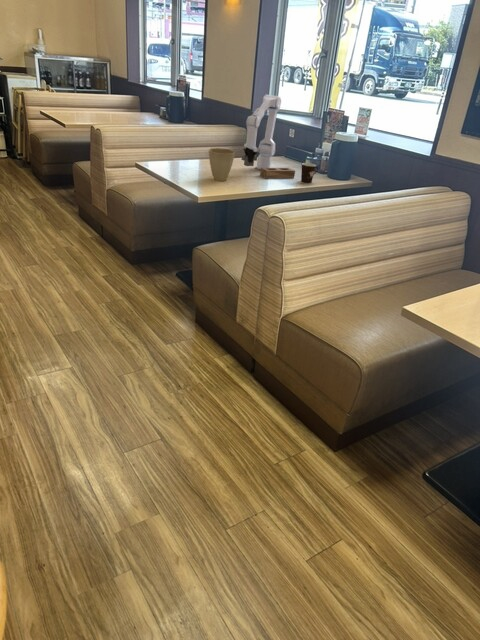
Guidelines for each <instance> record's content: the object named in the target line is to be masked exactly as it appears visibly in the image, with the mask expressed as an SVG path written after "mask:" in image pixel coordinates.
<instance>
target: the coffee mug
mask: <svg viewBox="0 0 480 640" xmlns="http://www.w3.org/2000/svg"><path fill="white" fill-rule="evenodd" d="M318 169H319V168H318V166H317V165H316V164H314V163H309V162H303V163H301V175H300V176H301V178H300V181H301V182H302V183H308V184H310V183H313V179H314V175H315V174H316V173H317V172H318Z"/></svg>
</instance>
